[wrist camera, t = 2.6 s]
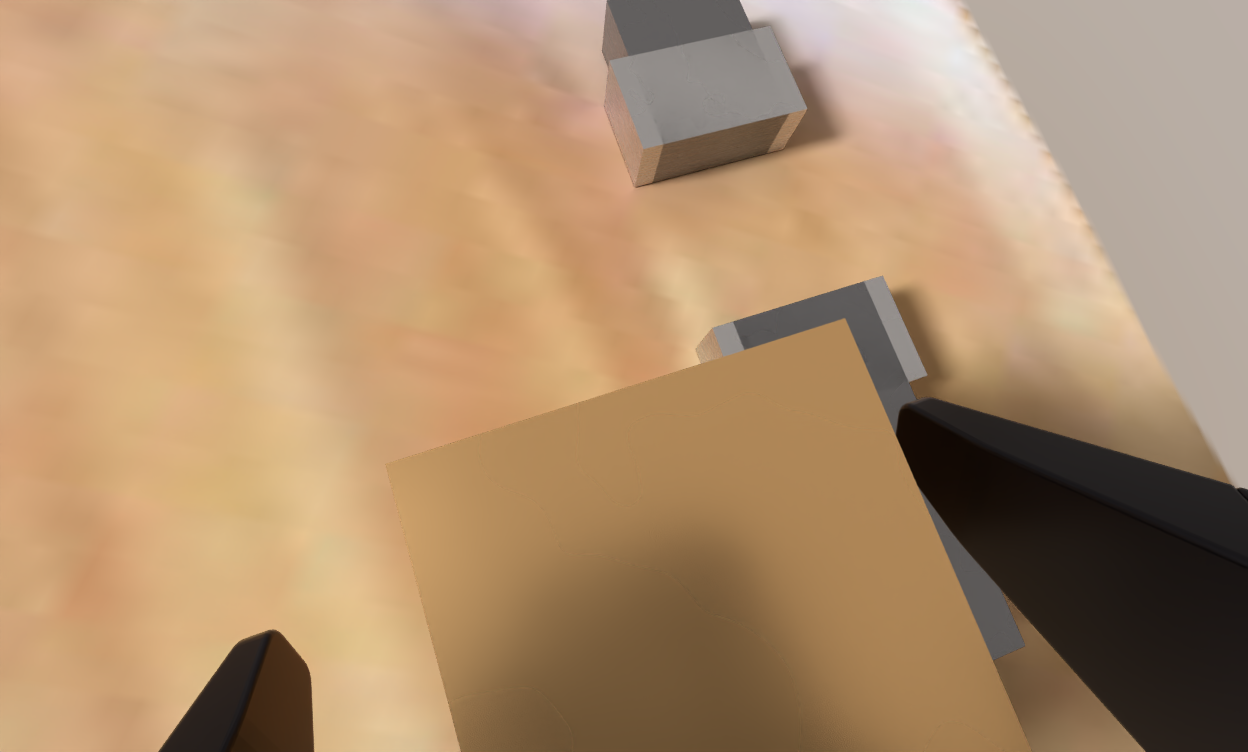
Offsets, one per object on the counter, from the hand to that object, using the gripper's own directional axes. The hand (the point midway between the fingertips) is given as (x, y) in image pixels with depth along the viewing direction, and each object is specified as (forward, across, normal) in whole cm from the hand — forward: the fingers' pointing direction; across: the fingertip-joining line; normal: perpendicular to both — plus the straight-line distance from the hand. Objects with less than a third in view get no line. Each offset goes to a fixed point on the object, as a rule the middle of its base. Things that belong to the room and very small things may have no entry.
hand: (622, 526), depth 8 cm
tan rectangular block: (+5, 0, +6) cm, 8 cm away
